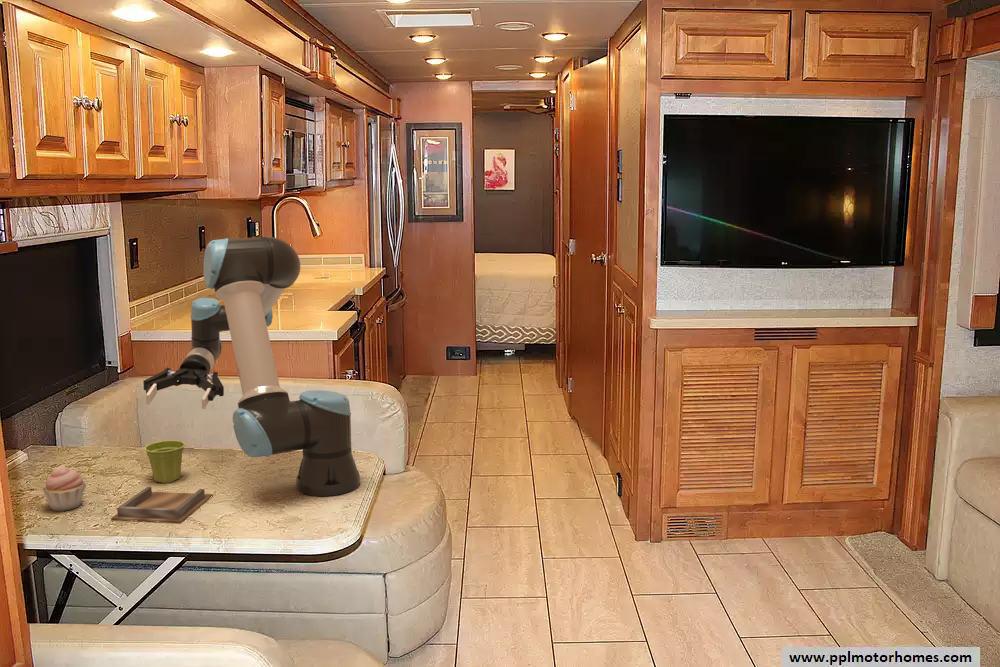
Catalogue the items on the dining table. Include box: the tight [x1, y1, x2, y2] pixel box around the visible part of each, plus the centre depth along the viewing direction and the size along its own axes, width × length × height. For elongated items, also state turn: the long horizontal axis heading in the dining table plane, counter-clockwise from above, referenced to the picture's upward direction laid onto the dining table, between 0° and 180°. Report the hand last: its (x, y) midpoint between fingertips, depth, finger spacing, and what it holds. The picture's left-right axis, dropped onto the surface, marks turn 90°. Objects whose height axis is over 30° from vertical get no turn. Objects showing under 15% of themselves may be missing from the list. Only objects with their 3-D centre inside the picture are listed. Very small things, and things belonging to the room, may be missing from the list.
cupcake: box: [41, 464, 88, 512], centre depth 196 cm, size 9×9×10 cm
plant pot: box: [143, 439, 186, 484], centre depth 213 cm, size 9×9×9 cm
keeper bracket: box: [110, 486, 214, 524], centre depth 195 cm, size 16×16×2 cm
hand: (175, 402), depth 216 cm, fingers open, 13 cm apart
